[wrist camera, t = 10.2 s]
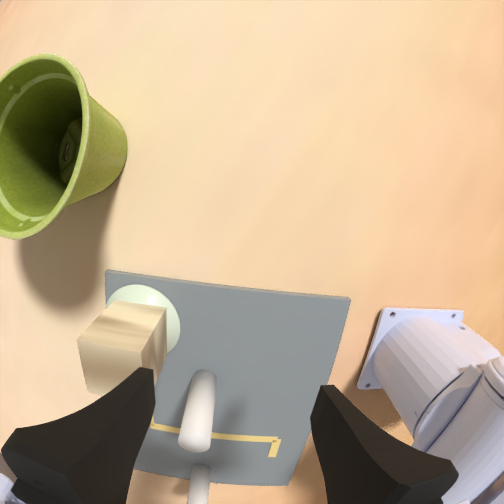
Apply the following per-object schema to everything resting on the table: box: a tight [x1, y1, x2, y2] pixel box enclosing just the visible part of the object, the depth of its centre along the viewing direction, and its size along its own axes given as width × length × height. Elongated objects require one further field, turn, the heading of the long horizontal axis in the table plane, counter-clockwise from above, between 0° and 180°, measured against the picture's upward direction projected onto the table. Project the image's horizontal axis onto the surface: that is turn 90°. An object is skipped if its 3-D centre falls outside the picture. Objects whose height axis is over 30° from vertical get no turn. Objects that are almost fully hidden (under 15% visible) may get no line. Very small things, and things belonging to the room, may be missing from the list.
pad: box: [105, 284, 181, 353], centre depth 20 cm, size 6×6×1 cm
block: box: [77, 300, 167, 396], centre depth 17 cm, size 4×4×6 cm
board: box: [105, 270, 351, 504], centre depth 20 cm, size 18×24×8 cm
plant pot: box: [0, 54, 127, 240], centre depth 14 cm, size 9×9×9 cm
